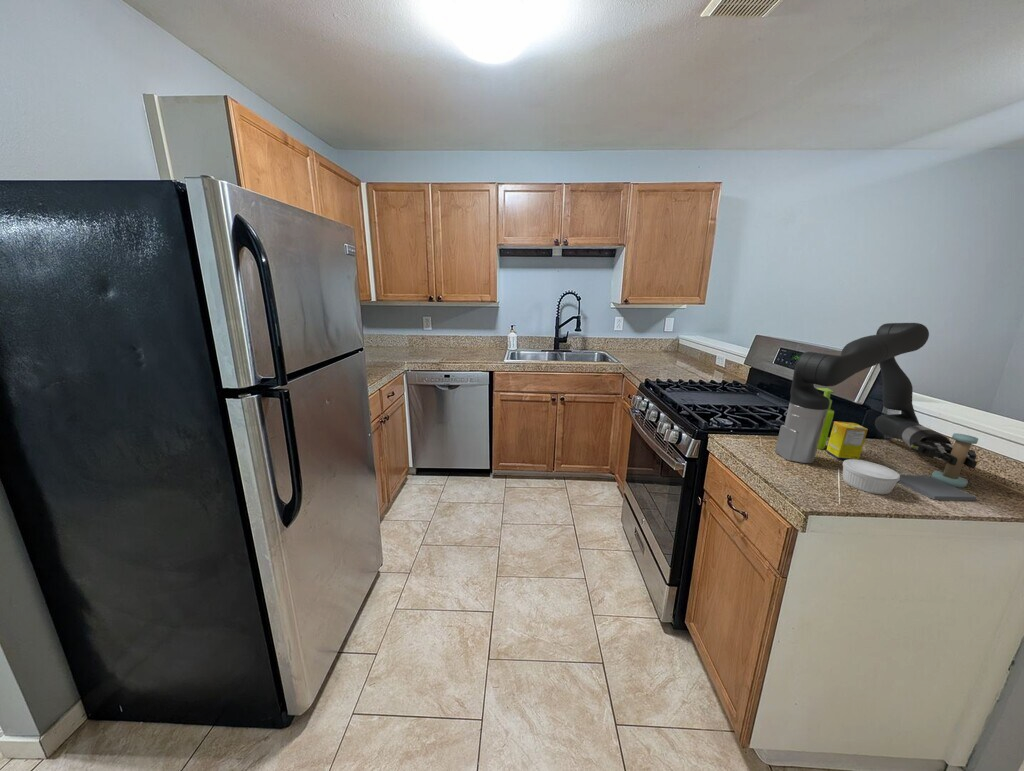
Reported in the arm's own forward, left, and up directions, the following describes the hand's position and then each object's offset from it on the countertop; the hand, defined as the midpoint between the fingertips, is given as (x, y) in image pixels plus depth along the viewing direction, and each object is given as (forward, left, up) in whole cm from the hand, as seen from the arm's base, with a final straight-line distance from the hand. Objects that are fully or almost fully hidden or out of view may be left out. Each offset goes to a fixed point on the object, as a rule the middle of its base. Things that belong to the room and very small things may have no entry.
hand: (964, 463), depth 97 cm
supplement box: (-16, +18, -7) cm, 25 cm away
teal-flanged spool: (+1, +3, -7) cm, 8 cm away
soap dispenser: (-18, +27, -7) cm, 33 cm away
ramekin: (-26, 0, -7) cm, 27 cm away
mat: (-9, -1, -7) cm, 11 cm away
